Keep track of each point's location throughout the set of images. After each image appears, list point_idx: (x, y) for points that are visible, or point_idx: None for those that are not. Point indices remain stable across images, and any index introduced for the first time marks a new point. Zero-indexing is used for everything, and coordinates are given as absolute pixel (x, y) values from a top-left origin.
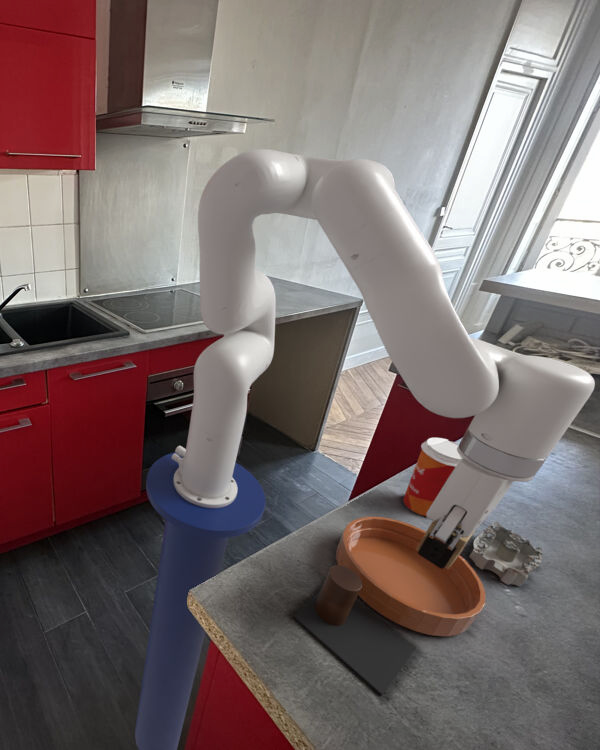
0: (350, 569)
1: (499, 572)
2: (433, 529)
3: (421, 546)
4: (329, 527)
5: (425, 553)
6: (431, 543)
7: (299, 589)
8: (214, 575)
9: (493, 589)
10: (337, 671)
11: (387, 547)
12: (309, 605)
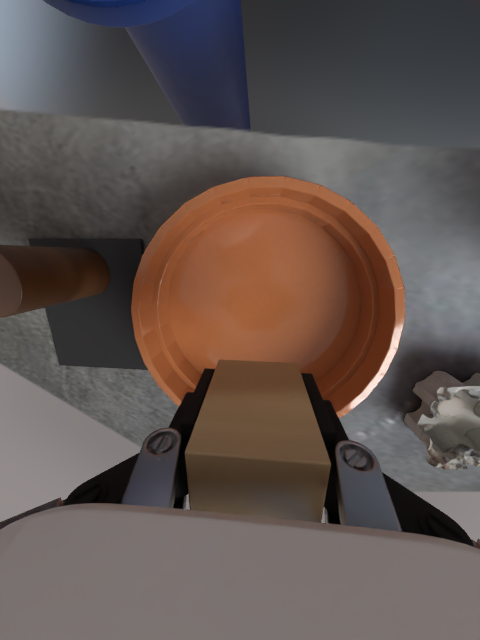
0: (17, 278)
1: (423, 412)
2: (133, 471)
3: (198, 382)
4: (285, 149)
5: (185, 394)
6: (169, 426)
7: (82, 213)
8: (195, 103)
9: (373, 408)
10: (36, 320)
11: (325, 267)
12: (66, 244)
